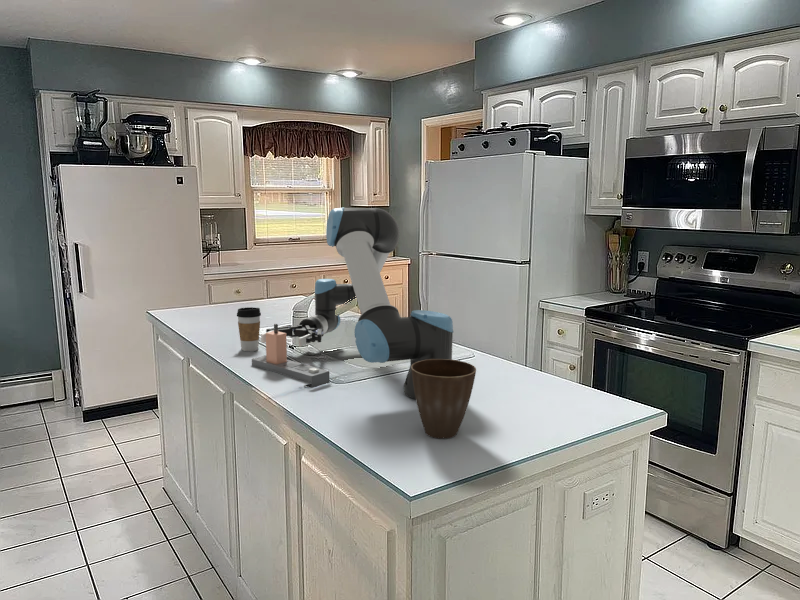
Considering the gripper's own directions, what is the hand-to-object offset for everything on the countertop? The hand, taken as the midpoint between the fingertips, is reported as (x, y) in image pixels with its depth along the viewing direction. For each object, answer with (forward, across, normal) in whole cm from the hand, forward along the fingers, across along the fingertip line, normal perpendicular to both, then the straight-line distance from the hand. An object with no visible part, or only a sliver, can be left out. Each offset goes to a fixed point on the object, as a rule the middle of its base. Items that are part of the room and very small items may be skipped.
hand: (280, 340), depth 193 cm
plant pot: (+32, -62, -10) cm, 71 cm away
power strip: (+5, -6, -9) cm, 12 cm away
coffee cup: (-18, +24, -10) cm, 31 cm away
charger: (+3, 0, -8) cm, 9 cm away
